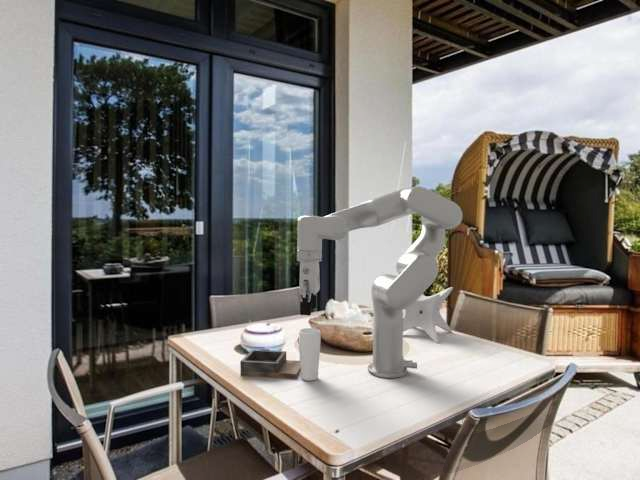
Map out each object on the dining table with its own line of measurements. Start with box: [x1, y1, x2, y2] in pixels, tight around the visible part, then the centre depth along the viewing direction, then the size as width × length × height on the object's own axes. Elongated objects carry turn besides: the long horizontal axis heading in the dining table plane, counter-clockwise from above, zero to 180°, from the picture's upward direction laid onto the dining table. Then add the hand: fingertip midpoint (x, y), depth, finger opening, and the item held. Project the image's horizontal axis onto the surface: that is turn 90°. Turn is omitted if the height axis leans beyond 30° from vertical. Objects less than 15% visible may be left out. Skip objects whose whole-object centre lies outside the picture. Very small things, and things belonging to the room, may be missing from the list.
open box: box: [240, 349, 301, 380], centre depth 139 cm, size 18×12×4 cm, turn 81°
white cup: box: [298, 327, 322, 382], centre depth 132 cm, size 7×7×15 cm
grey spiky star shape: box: [403, 286, 454, 344], centre depth 182 cm, size 20×20×20 cm
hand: (308, 311), depth 131 cm, fingers open, 9 cm apart
